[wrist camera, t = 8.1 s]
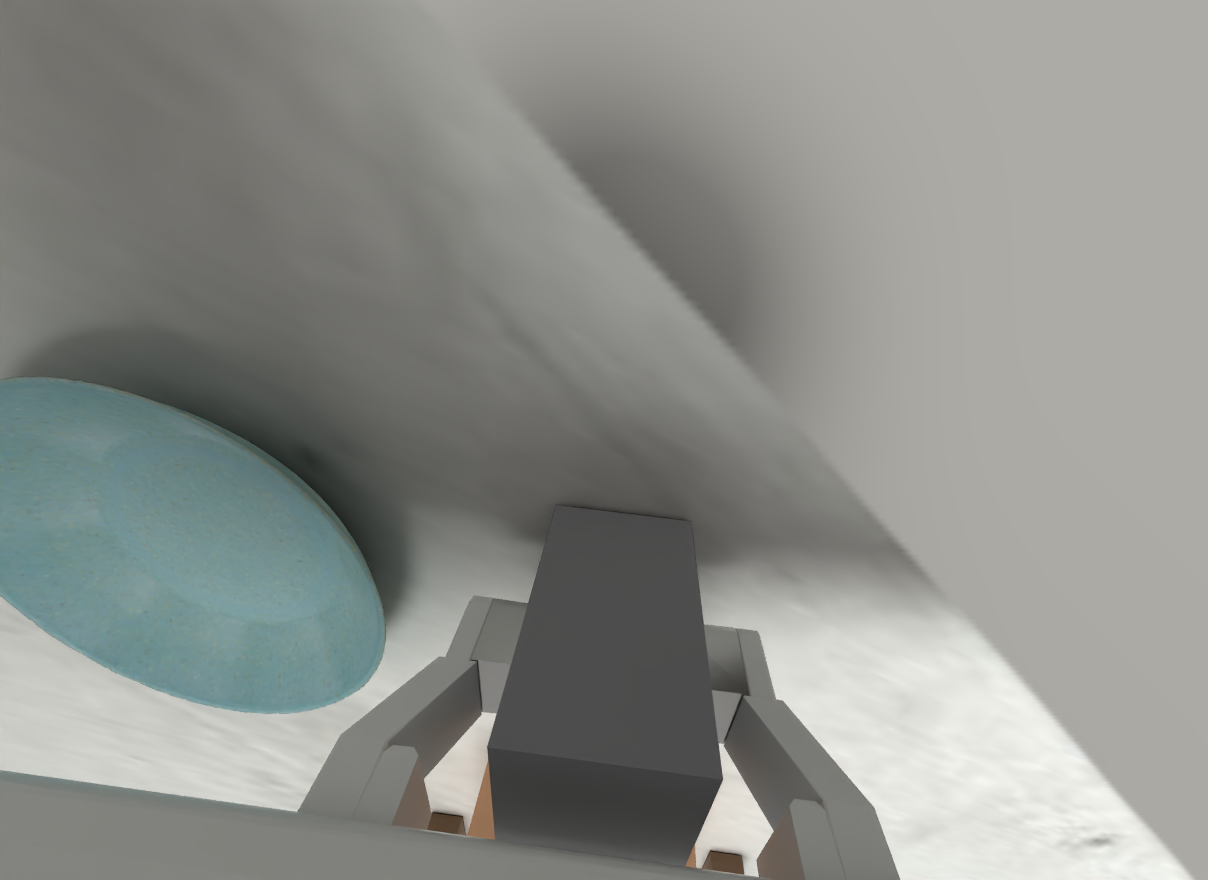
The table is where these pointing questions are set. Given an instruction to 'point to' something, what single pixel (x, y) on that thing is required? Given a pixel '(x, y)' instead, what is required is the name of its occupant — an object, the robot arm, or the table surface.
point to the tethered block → (607, 698)
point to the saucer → (178, 552)
